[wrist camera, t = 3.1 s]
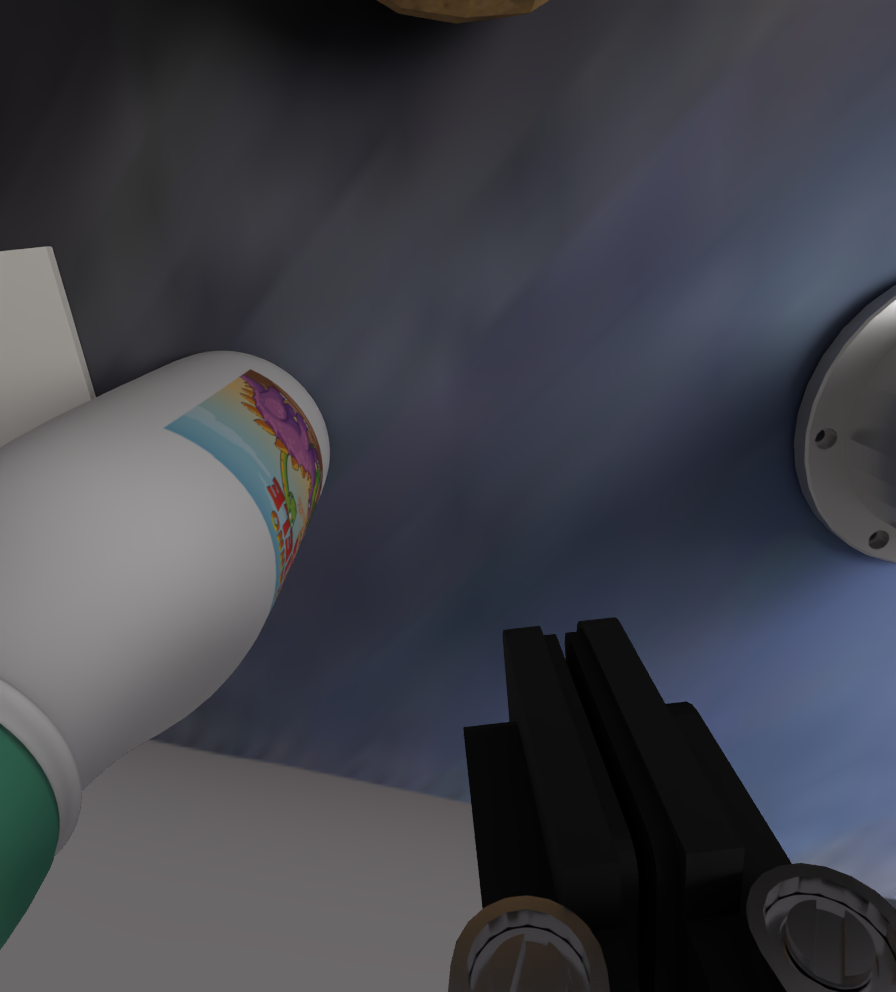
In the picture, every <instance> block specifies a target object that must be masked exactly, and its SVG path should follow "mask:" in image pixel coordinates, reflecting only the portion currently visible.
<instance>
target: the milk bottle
mask: <svg viewBox="0 0 896 992" xmlns="http://www.w3.org/2000/svg"><path fill="white" fill-rule="evenodd" d="M329 461H330V445H329V438H328V432H327V429H326V425H325V422H324V420H323V417H322V415H321V413H320V411H319V409H318V407H317V405H316V403H315V402H314V400H313V399H312V397H311V396H310V395H309V393H308V392H307V391H306V390H305V389H304V387H303V386H302V385H301V384H300V383H299V382H298V381H297V380H295V379H294V378H293V377H292V376H291V375H290V374H288V373H287V372H285V371H284V370H283V369H281V368H280V367H278V366H276V365H274V364H273V363H271V362H269V361H266V360H264V359H262V358H259V357H256V356H254V355H250V354H246V353H241V352H235V351H209V352H202V353H198V354H194V355H191V356H188V357H185V358H182V359H180V360H177V361H174V362H172V363H170V364H168V365H165V366H163V367H161V368H159V369H156V370H154V371H152V372H150V373H148V374H145V375H143V376H141V377H139V378H137V379H135V380H132V381H130V382H128V383H126V384H124V385H121V386H119V387H117V388H115V389H113V390H111V391H109V392H107V393H104V394H102V395H100V396H98V397H96V398H94V399H92V400H90V401H88V402H86V403H84V404H82V405H79V406H77V407H75V408H73V409H71V410H69V411H67V412H65V413H63V414H61V415H59V416H57V417H55V418H52V419H50V420H48V421H47V422H45V423H43V424H41V425H39V426H38V427H36V428H34V429H32V430H30V431H29V432H27V433H25V434H23V435H21V436H20V437H18V438H16V439H14V440H12V441H11V442H9V443H7V444H6V445H4V446H3V447H1V448H0V949H1V948H2V947H3V945H4V944H5V943H6V941H7V939H8V938H9V937H10V935H11V934H12V932H13V931H14V929H15V927H16V926H17V925H18V923H19V922H20V920H21V919H22V917H23V915H24V914H25V912H26V911H27V909H28V907H29V906H30V904H31V902H32V901H33V899H34V897H35V895H36V893H37V891H38V890H39V888H40V886H41V884H42V882H43V881H44V879H45V877H46V875H47V873H48V871H49V869H50V867H51V864H52V862H53V859H54V856H55V855H56V854H57V853H58V852H59V851H60V850H61V849H62V848H63V846H64V845H65V844H66V842H67V841H68V840H69V838H70V836H71V834H72V832H73V831H74V828H75V826H76V824H77V821H78V817H79V813H80V809H81V800H82V790H83V789H84V788H85V787H86V786H87V785H88V784H89V783H91V782H92V781H93V780H94V779H95V778H96V777H97V776H98V775H99V774H100V773H102V772H103V771H104V770H105V769H106V768H107V767H109V766H110V765H111V764H112V763H114V762H115V761H116V760H118V759H119V758H120V757H121V756H123V755H125V754H126V753H128V752H129V751H131V750H132V749H134V748H136V747H137V746H139V745H141V744H143V743H144V742H146V741H148V740H150V739H151V738H153V737H155V736H157V735H158V734H160V733H162V732H163V731H165V730H166V729H168V728H169V727H171V726H173V725H174V724H176V723H177V722H179V721H180V720H182V719H183V718H185V717H186V716H188V715H189V714H190V713H191V712H193V711H194V710H195V709H196V708H197V707H199V706H200V705H201V704H202V703H203V702H205V701H206V700H207V699H208V698H209V697H211V696H212V695H213V693H214V692H215V691H216V690H217V689H218V688H219V687H220V686H221V685H222V684H223V683H224V682H225V681H226V680H227V679H228V678H229V677H230V676H231V674H232V673H233V672H234V671H235V669H236V668H237V667H238V665H239V664H240V663H241V661H242V660H243V658H244V657H245V655H246V654H247V653H248V651H249V650H250V648H251V647H252V645H253V644H254V642H255V640H256V639H257V637H258V635H259V633H260V631H261V629H262V627H263V625H264V623H265V621H266V619H267V617H268V615H269V613H270V611H271V609H272V607H273V605H274V604H275V601H276V599H277V597H278V595H279V593H280V590H281V588H282V586H283V584H284V581H285V579H286V577H287V574H288V572H289V570H290V567H291V565H292V563H293V560H294V558H295V556H296V554H297V551H298V549H299V547H300V544H301V542H302V539H303V537H304V534H305V532H306V530H307V527H308V525H309V522H310V520H311V517H312V515H313V513H314V510H315V508H316V505H317V503H318V500H319V498H320V495H321V493H322V490H323V487H324V484H325V480H326V477H327V473H328V469H329Z"/></svg>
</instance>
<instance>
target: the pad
mask: <svg viewBox="0 0 896 992" xmlns="http://www.w3.org/2000/svg"><path fill="white" fill-rule="evenodd" d="M94 398H96V396H95V393H94V389H93V386H92V382H91V379H90V376H89V372H88V369H87V365H86V362H85V358H84V355H83V352H82V348H81V345H80V341H79V338H78V335H77V331H76V328H75V324H74V321H73V317H72V314H71V311H70V307H69V304H68V300H67V297H66V294H65V290H64V287H63V283H62V280H61V276H60V273H59V270H58V266H57V263H56V259H55V256H54V253H53V249H52V247H38V248H28V249H19V250H9V251H0V448H1V447H3V446H4V445H6V444H7V443H9V442H11V441H12V440H14V439H16V438H18V437H20V436H21V435H23V434H25V433H27V432H29V431H30V430H32V429H34V428H36V427H38V426H39V425H41V424H43V423H45V422H47V421H48V420H50V419H52V418H55V417H57V416H59V415H61V414H63V413H65V412H67V411H69V410H71V409H73V408H75V407H77V406H79V405H82V404H84V403H86V402H88V401H90V400H92V399H94Z"/></svg>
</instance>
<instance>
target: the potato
mask: <svg viewBox="0 0 896 992" xmlns="http://www.w3.org/2000/svg"><path fill="white" fill-rule="evenodd" d="M377 1H379V2H380V3H382V4H384V5H385V6H387V7H389V8H390V9H392V10H393V11H395V12H397V13H398V14H404V15H410V16H415V17H421V18H427V19H432V20H438V21H443V22H449V23H455V24H459V23H466V22H473V21H481V20H488V19H496V18H503V17H511V16H517V15H521V14H525V13H530V12H532V11H533V10H535V9H536V8H538V7H539V6H541V5H542V4H544V3H546V2H547V1H549V0H377Z"/></svg>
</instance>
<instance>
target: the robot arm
mask: <svg viewBox="0 0 896 992" xmlns="http://www.w3.org/2000/svg"><path fill="white" fill-rule="evenodd" d="M817 434H818V435H817ZM794 454H795V469H796V473H797V476H798V480H799V483H800V487H801V490H802V493H803V495H804V497H805V499H806V501H807V503H808V504H809V506H810V508H811V510H812V512H813V513H814V515H815V516H816V517H817V518H818V519H819V520H820V521H821V522H822V523H823V524H824V526H825V527H826V528H827V529H828V530H829V531H830V532H832V533H833V534H835V535H836V536H837V537H839V538H840V539H841V540H843V541H844V542H846V543H847V544H848V545H850V546H851V547H853V548H855V549H857V550H858V551H860V552H862V553H864V554H866V555H868V556H870V557H873V558H877V559H881V560H885V561H888V562H892V563H896V285H894V286H893V287H891V288H890V289H889V290H887V291H886V292H884V293H883V294H882V295H880V296H879V297H877V298H876V299H875V300H873V301H872V302H870V303H869V304H868V305H867V306H866V307H865V308H864V309H863V310H862V311H861V312H860V313H858V314H857V315H856V316H855V317H854V318H853V319H852V320H851V321H850V322H849V323H848V324H847V325H846V326H845V327H844V328H843V329H842V331H841V332H840V333H839V335H838V336H837V337H836V339H835V340H834V341H833V343H832V344H831V345H830V347H829V348H828V349H827V351H826V352H825V353H824V355H823V356H822V358H821V360H820V362H819V364H818V365H817V367H816V369H815V371H814V373H813V375H812V377H811V379H810V381H809V382H808V384H807V387H806V390H805V393H804V396H803V399H802V402H801V405H800V408H799V411H798V416H797V423H796V430H795V437H794ZM503 646H504V658H505V671H506V683H507V696H508V708H509V721H510V722H505V723H497V724H488V725H479V726H470V727H463V729H464V739H465V748H466V758H467V767H468V776H469V786H470V795H471V804H472V814H473V823H474V832H475V842H476V851H477V860H478V870H479V879H480V889H481V897H482V907H483V909H482V910H481V911H480V912H479V913H478V914H477V915H476V916H474V917H473V918H472V919H471V920H470V921H469V922H468V923H467V925H466V926H465V928H464V930H463V931H462V933H461V935H460V936H459V938H458V940H457V941H456V945H455V949H454V954H453V957H452V961H451V966H450V977H449V989H448V992H896V909H895V908H894V907H893V906H892V905H891V904H889V903H888V902H887V901H886V900H885V899H884V898H883V897H882V896H881V895H880V894H878V893H877V892H876V891H875V890H873V889H871V888H870V887H868V886H866V885H865V884H863V883H862V882H860V881H858V880H857V879H855V878H853V877H852V876H849V875H847V874H844V873H841V872H839V871H836V870H833V869H831V868H828V867H825V866H818V865H811V864H805V863H796V864H792V863H791V862H790V860H789V858H788V857H787V855H786V854H785V852H784V850H783V849H782V847H781V845H780V844H779V842H778V841H777V839H776V837H775V836H774V834H773V832H772V831H771V829H770V828H769V826H768V824H767V823H766V821H765V820H764V818H763V816H762V815H761V813H760V811H759V810H758V808H757V807H756V805H755V803H754V802H753V800H752V798H751V797H750V795H749V794H748V792H747V790H746V789H745V787H744V786H743V784H742V782H741V781H740V779H739V777H738V776H737V774H736V773H735V771H734V769H733V768H732V766H731V764H730V763H729V761H728V760H727V758H726V756H725V755H724V753H723V752H722V750H721V748H720V747H719V745H718V743H717V742H716V740H715V739H714V737H713V735H712V734H711V732H710V730H709V729H708V727H707V726H706V724H705V722H704V721H703V719H702V718H701V716H700V714H699V713H698V711H697V710H696V709H695V707H694V706H693V705H692V704H690V703H689V702H679V703H670V704H665V703H664V701H663V699H662V697H661V695H660V694H659V692H658V690H657V688H656V686H655V685H654V683H653V681H652V679H651V677H650V676H649V674H648V672H647V670H646V668H645V667H644V665H643V663H642V661H641V660H640V658H639V656H638V654H637V652H636V651H635V649H634V647H633V645H632V643H631V642H630V640H629V638H628V636H627V634H626V633H625V631H624V629H623V627H622V625H621V624H620V622H619V620H618V619H617V618H615V617H614V618H605V619H596V620H587V621H579V622H578V624H577V632H569V633H566V634H565V655H566V660H565V658H564V655H563V652H562V650H561V647H560V644H559V641H558V639H557V636H556V635H555V634H552V635H543V633H542V630H541V628H540V626H534V627H525V628H516V629H508V630H503Z"/></svg>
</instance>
